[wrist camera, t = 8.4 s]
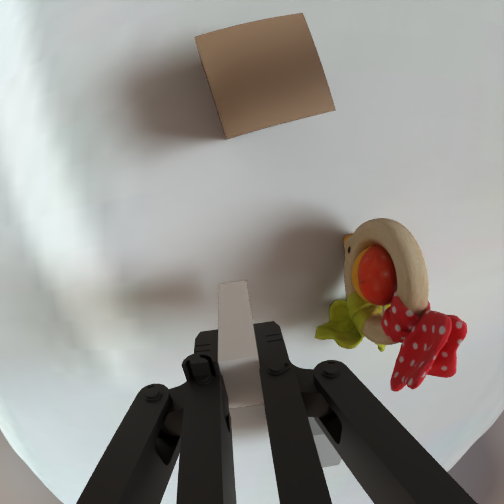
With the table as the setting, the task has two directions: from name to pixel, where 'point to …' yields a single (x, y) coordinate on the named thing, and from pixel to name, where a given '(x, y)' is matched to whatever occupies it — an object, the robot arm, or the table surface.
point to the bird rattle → (393, 304)
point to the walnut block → (264, 74)
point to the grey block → (324, 446)
